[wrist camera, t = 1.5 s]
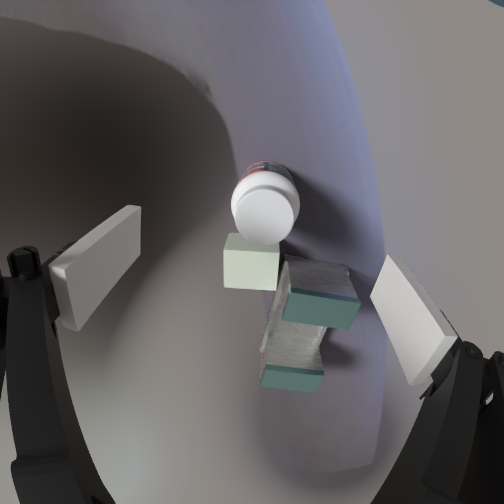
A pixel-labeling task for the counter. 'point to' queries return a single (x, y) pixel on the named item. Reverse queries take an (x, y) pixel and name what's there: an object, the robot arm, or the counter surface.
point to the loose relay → (250, 264)
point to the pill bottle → (265, 203)
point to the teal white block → (304, 321)
